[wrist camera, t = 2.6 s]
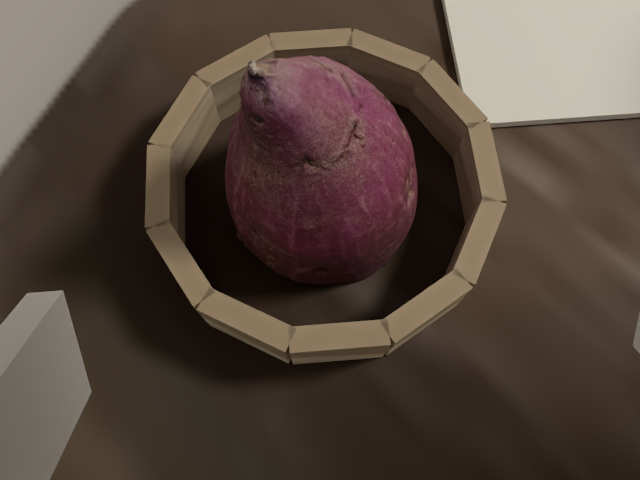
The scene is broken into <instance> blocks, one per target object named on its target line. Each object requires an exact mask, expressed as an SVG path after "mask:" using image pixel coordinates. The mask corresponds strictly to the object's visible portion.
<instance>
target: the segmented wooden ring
mask: <svg viewBox="0 0 640 480" xmlns="http://www.w3.org/2000/svg"><path fill="white" fill-rule="evenodd" d="M308 55H312V56H316V57H321V56H324V57H326V58H329V59H331V60H333V61H336V62H338V63H340V64H343V65H345V66H347V67H349V68H350V69H352V70H353V71H355V72H356V73H357V74H359V75H361V76H362V77H363V78H365V79H366V80H368V81H369V82H370V83H372V84H373V85H374V86H375V87H376V88H377V89H378V90H379V91H380V92H381V93H382V94H383V95H384V96H385V97H386V98H387V99H388V100H389V101H391V102H393V103H396V104H398V105H401V106H404V107H406V108H409V109H410V110H411V111H412V113H413V114H414V115H415V116H416V117H417V118H418V119H419V121H420V122H421V123H422V124H423V125H424V126H425V127H426V129H427V130H428V131H429V132H430V133H431V134H432V135H433V137H434V138H435V139H436V140H437V141H438V142H439V143H440V145H441V146H442V147H443V148H444V149H445V150H446V151H447V153H448V154H449V155H450V156H451V157H452V158H453V162H454V167H455V172H456V178H457V183H458V188H459V194H460V199H461V204H462V210H463V215H464V220H465V227H464V229H463V232H462V234H461V236H460V239H459V241H458V244H457V246H456V249H455V251H454V253H453V256H452V258H451V261H450V263H449V266H448V268H447V270H446V273H445V275H444V277H443V278H441V279H440V280H439V281H437V282H436V283H434V284H433V285H431V286H430V287H429V288H427V289H426V290H424V291H423V292H421V293H420V294H419V295H417V296H416V297H414V298H413V299H411V300H410V301H409V302H407V303H406V304H404V305H403V306H401V307H400V308H399V309H397V310H396V311H394V312H393V313H391V314H390V315H389V316H387V317H386V318H384V319H381V320H369V321H356V322H344V323H331V324H319V325H306V326H294V327H292V326H290V325H288V324H286V323H284V322H282V321H280V320H278V319H276V318H273V317H271V316H269V315H267V314H265V313H263V312H261V311H259V310H257V309H254V308H252V307H250V306H248V305H246V304H244V303H242V302H240V301H238V300H235V299H233V298H231V297H229V296H227V295H225V294H223V293H221V292H218V291H216V290H214V289H213V288H212V287H211V285H210V284H209V282H208V280H207V279H206V277H205V276H204V274H203V273H202V271H201V270H200V268H199V266H198V265H197V263H196V262H195V260H194V259H193V257H192V256H191V254H190V253H189V251H188V249H187V248H186V246H185V178H186V176H187V174H188V173H189V171H190V170H191V168H192V166H193V165H194V163H195V162H196V160H197V158H198V157H199V155H200V154H201V152H202V150H203V149H204V147H205V145H206V144H207V142H208V141H209V139H210V137H211V136H212V134H213V133H214V131H215V129H216V128H217V126H218V125H219V123H220V122H221V121H222V120H224V119H226V118H228V117H229V116H231V115H233V114H235V113H236V112H238V110H239V109H240V107H241V103H240V102H241V97H240V94H239V91H240V89H241V80H242V77H243V74H244V73H245V71H246V69H247V65H248V62H249V61H250V59H252V60H254V61H261V60H264V59H275V58H292V57H298V56H308ZM429 60H430V57H428V56H426V55H423V54H420V53H418V52H415V51H412V50H410V49H407V48H404V47H402V46H399V45H396V44H394V43H391V42H388V41H386V40H383V39H381V38H378V37H375V36H373V35H370V34H367V33H365V32H362V31H359V30H357V29H354V31H353V32H352V33H351V28H345V29H329V30H313V31H298V32H282V33H270V38H269V37H268V36H267V35H264V36H262V37H260V38H258V39H257V40H255V41H253V42H251V43H249V44H247V45H245V46H244V47H242V48H240V49H238V50H236V51H234V52H233V53H231V54H229V55H227V56H225V57H223V58H221V59H220V60H218V61H216V62H214V63H212V64H210V65H209V66H207V67H205V68H203V69H201V70H199V71H198V72H196V76H197V77H196V76H193V75H192V77H191V78H190V80H189V81H188V83H187V84H186V86H185V87H184V89H183V90H182V92H181V93H180V95H179V96H178V98H177V99H176V101H175V102H174V104H173V105H172V107H171V108H170V110H169V111H168V113H167V114H166V116H165V117H164V119H163V120H162V122H161V123H160V125H159V126H158V128H157V129H156V131H155V132H154V134H153V135H152V137H151V138H150V140H149V141H148V142H149V144H150V145H147V166H146V199H145V228H146V232H147V234H148V235H149V237H150V239H151V240H152V242H153V243H154V245H155V247H156V248H157V250H158V251H159V253H160V255H161V256H162V258H163V259H164V261H165V263H166V264H167V266H168V267H169V269H170V271H171V272H172V274H173V275H174V277H175V279H176V280H177V282H178V283H179V285H180V287H181V288H182V290H183V291H184V293H185V295H186V296H187V298H188V299H189V301H190V303H191V304H192V306H193V307H194V308H195V309H196V311H197V312H198V313H199V314H200V315H201V316H202V318H203V319H204V320H205V321H206V322H207V323H208V324H209V325H210V326H212V327H214V328H216V329H218V330H220V331H222V332H224V333H226V334H228V335H231V336H233V337H235V338H237V339H239V340H241V341H243V342H245V343H247V344H249V345H251V346H253V347H255V348H257V349H259V350H261V351H264V352H266V353H268V354H270V355H272V356H274V357H276V358H278V359H280V360H282V361H284V362H286V363H288V364H289V362H290V360H291V359H292V363H293V364H305V363H317V362H329V361H342V360H354V359H366V358H378V357H383V356H384V354H386V356H387V355H388V354H390V353H391V352H392V351H394V350H395V349H397V348H398V347H399V346H401V345H402V344H403V343H405V342H406V341H408V340H409V339H410V338H412V337H413V336H415V335H416V334H417V333H419V332H420V331H422V330H423V329H424V328H426V327H427V326H429V325H430V324H431V323H433V322H434V321H435V320H437V319H438V318H440V317H441V316H442V315H444V314H445V313H447V312H448V311H449V310H451V309H452V308H454V307H455V306H456V305H457V304H458V303H459V302H460V301H461V300H462V299H463V298H464V297H465V296H466V295H467V293H468V292H469V291H470V290H471V289H472V288H473V287H474V285H475V284H476V282H477V279H478V277H479V274H480V271H481V269H482V266H483V264H484V261H485V259H486V256H487V253H488V251H489V248H490V246H491V243H492V241H493V238H494V236H495V233H496V230H497V228H498V225H499V223H500V220H501V218H502V215H503V212H504V210H505V207H506V205H507V204H505V202H506V201H507V198H506V194H505V189H504V185H503V180H502V175H501V171H500V166H499V162H498V157H497V153H496V148H495V144H494V139H493V134H492V130H491V125H490V121H489V122H486V121H487V119H488V118H487V117H486V116H485V114H484V113H483V112H482V111H481V110H480V109H479V108H478V107H477V106H476V105H475V104H474V103H473V102H472V100H471V99H470V98H469V97H468V96H467V95H466V94H465V93H464V92H463V91H462V90H461V89H460V87H459V86H458V85H457V84H456V83H455V82H454V81H453V80H452V79H451V78H450V77H449V76H448V75H447V73H446V72H445V71H444V70H443V69H442V68H441V67H440V66H439V65H438V64H437V63H436V62H435V61H434V59H433V60H432V61H430V62H429Z"/></svg>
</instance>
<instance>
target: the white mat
mask: <svg viewBox="0 0 640 480" xmlns="http://www.w3.org/2000/svg"><path fill="white" fill-rule="evenodd" d="M442 5H443V10H444V15H445V20H446V25H447V30H448V35H449V40H450V45H451V50H452V55H453V60H454V65H455V69H456V74H457V79H458V84H459V87H460V89H461V90H462V91H463V92H464V93H465V94H466V95H467V96H468V97H469V98H470V99H471V100H472V102H473V103H474V104H475V105H476V106H477V107H478V108H479V109H480V110H481V111H482V112H483V113H484V114H485V116H486V117H487V118H488V119H487V121H486V122H489V121H490V125H491V128H493V127H508V126H522V125H537V124H551V123H565V122H580V121H594V120H608V119H623V118H637V117H640V0H442Z"/></svg>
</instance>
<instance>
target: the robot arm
mask: <svg viewBox="0 0 640 480" xmlns="http://www.w3.org/2000/svg"><path fill="white" fill-rule="evenodd" d="M633 347H634V348H635V349H636V350H637V351H638V352H639V353H640V313H639V318H638V322H637V327H636V332H635V337H634V342H633ZM90 394H91V388H90V385H89V381H88V378H87V374H86V371H85V367H84V363H83V360H82V356H81V353H80V349H79V346H78V342H77V338H76V335H75V331H74V328H73V324H72V321H71V317H70V313H69V310H68V306H67V303H66V299H65V296H64V292H63V290H61V291H48V292H36V293H27V294H26V295H25V296H24V298H23V299H22V300H21V301H20V302H19V304H18V305H17V306H16V307H15V308H14V310H13V311H12V312H11V313H10V314H9V316H8V317H7V318H6V319H5V320H4V322H3V323H2V324H1V325H0V480H50V478H51V476H52V474H53V472H54V470H55V468H56V466H57V464H58V462H59V459H60V457H61V455H62V453H63V451H64V449H65V447H66V445H67V442H68V440H69V438H70V436H71V434H72V432H73V430H74V428H75V426H76V423H77V421H78V419H79V417H80V415H81V413H82V411H83V409H84V406H85V404H86V402H87V400H88V398H89V396H90Z"/></svg>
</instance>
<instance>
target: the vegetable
mask: <svg viewBox="0 0 640 480" xmlns="http://www.w3.org/2000/svg"><path fill="white" fill-rule="evenodd" d="M239 94H240V97H241V102H240V103H241V107H240V109H239V110H238V112H237V114H236V116H235V118H234V120H233V123H232V127H231V131H230V136H229V142H228V149H227V157H226V165H225V188H226V198H227V204H228V207H229V210H230V213H231V216H232V219H233V222H234V224H235V227H236V234H237V238H238V239H239V240H241V241H242V242H243V243H244V246H245V247H246V248H247V249H248V250H249V251H250V252H251V253H252V254H253V255H254V256H255V257H257V258H258V259H259V260H260V261H261V262H263V263H264V264H265V265H266V266H269V267H270V268H271V269H272V270H274V271H275V272H276V273H278V274H279V275H281V276H284V277H286V278H288V279H291V280H293V281H295V282H299V283H309V284H339V283H351V282H358V281H361V280H363V279H365V278H367V277H369V276H370V275H372V274H373V273H375V272H376V271H377V270H378V269H379V268H381V267H382V266H385V263H386V262H387V261H388V260H389V259H390V258H391V257H392V255H393V254H394V253H395V252H396V250H397V249H398V248H399V246H400V245H401V244H402V242H403V241H404V239H405V237H406V236H407V234H408V232H409V230H410V228H411V226H412V223H413V220H414V217H415V212H416V206H417V193H418V189H417V171H416V166H415V157H414V150H413V146H412V142H411V139H410V137H409V134H408V132H407V130H406V128H405V126H404V125H403V123H402V121H401V119H400V118H399V116H398V114H397V112H396V110H395V108H394V107H393V105H392V104H391V103H390V102H389V100H388V99H387V98H386V97H385V96H384V95H383V94H382V93H381V92H380V91H379V90H378V89H377V88H376V87H375V86H374V85H373V84H372V83H370V82H369V81H368V80H366V79H365V78H363V77H362V76H361V75H359V74H357V73H356V72H355V71H353V70H352V69H350V68H349V67H347V66H345V65H343V64H340V63H338V62H336V61H333V60H331V59H329V58H326V57H324V56H321V57H316V56H312V55H308V56H298V57H292V58H275V59H264V60H261V61H254V60H252V59H250V61H249V62H248V65H247V69H246V71H245V73H244V74H243V77H242V80H241V89H240V91H239Z"/></svg>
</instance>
